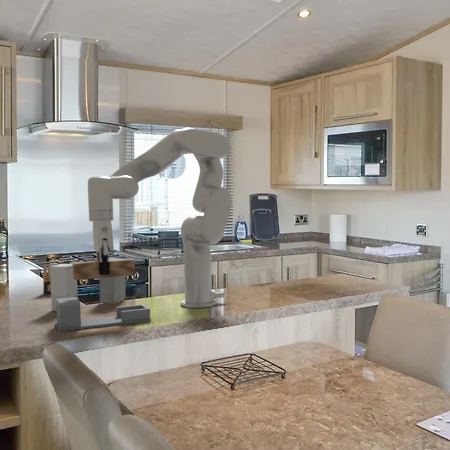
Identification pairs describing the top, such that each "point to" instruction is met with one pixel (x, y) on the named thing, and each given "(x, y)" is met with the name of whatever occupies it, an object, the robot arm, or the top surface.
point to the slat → (92, 269)
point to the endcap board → (72, 318)
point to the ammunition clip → (47, 281)
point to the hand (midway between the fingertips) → (103, 273)
